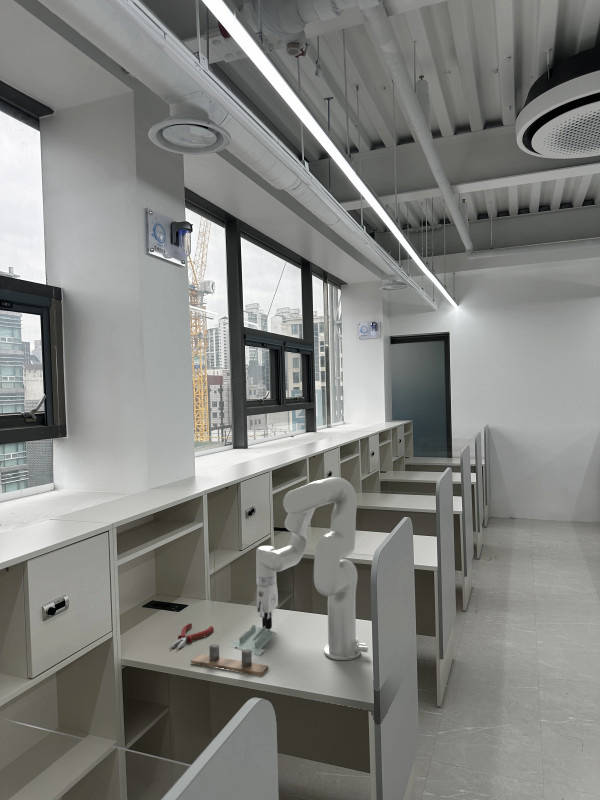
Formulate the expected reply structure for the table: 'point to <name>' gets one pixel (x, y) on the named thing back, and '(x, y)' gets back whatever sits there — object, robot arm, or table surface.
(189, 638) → the pliers
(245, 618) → the table surface
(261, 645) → the metal bracket
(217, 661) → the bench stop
